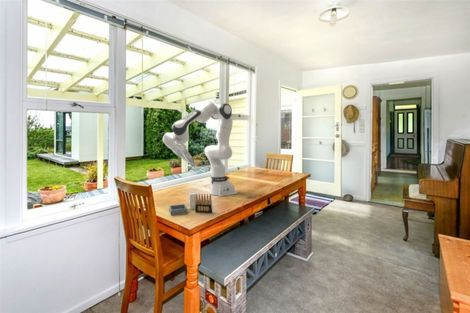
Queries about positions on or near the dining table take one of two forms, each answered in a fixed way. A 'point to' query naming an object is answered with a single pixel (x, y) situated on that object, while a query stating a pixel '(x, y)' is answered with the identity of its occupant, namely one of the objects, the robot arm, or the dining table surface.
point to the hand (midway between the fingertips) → (193, 161)
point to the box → (178, 209)
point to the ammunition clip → (203, 204)
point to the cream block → (192, 200)
